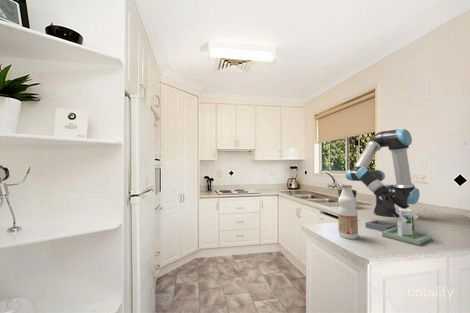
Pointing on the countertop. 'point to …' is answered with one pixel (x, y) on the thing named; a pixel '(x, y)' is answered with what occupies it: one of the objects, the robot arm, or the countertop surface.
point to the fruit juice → (347, 214)
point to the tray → (418, 240)
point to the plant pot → (352, 191)
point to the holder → (380, 225)
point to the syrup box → (406, 223)
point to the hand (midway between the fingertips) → (410, 220)
